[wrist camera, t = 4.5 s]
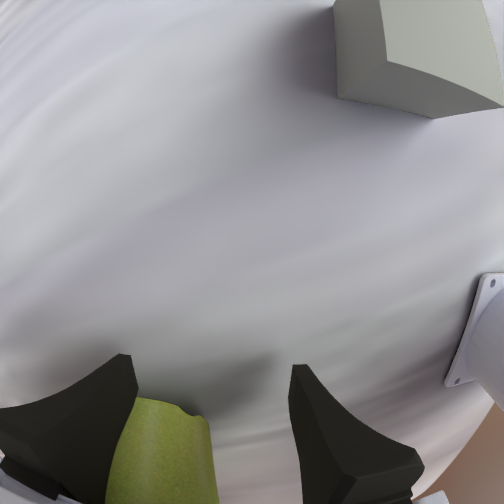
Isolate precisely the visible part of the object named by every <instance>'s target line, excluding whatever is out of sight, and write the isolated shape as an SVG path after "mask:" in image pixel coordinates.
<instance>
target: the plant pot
mask: <svg viewBox="0 0 504 504" xmlns="http://www.w3.org/2000/svg"><path fill="white" fill-rule="evenodd" d="M105 504H220V503H219V497H218V492H217V485H216V478H215V472H214V464H213V455H212V446H211V438H210V429H209V424H208V422H207V421H206V419H204V418H203V417H202V416H200V415H197V416H190V415H188V414H186V413H185V412H184V411H183V410H182V409H181V408H180V407H178V406H176V405H173V404H170V403H167V402H164V401H160V400H152V399H147V398H140V397H136V400H135V403H134V406H133V409H132V411H131V413H130V416H129V418H128V420H127V422H126V425H125V427H124V429H123V431H122V434H121V436H120V438H119V441H118V443H117V446H116V449H115V453H114V456H113V460H112V464H111V468H110V473H109V478H108V483H107V489H106V496H105Z"/></svg>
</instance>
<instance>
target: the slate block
mask: <svg viewBox="0 0 504 504" xmlns="http://www.w3.org/2000/svg"><path fill="white" fill-rule="evenodd" d="M333 18H334V31H335V47H336V71H337V98H338V99H344V100H351V101H357V102H363V103H368V104H373V105H378V106H383V107H388V108H392V109H397V110H401V111H405V112H409V113H413V114H417V115H421V116H424V117H428V118H432V119H437V118H442V117H447V116H453V115H458V114H464V113H470V112H476V111H482V110H489V109H496V108H504V91H503V84H502V78H501V72H500V67H499V61H498V57H497V52H496V48H495V43H494V39H493V36H492V32H491V28H490V25H489V22H488V18H487V15H486V12H485V9H484V6H483V3H482V0H336V1H335V3H334V4H333Z"/></svg>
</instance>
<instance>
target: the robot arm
mask: <svg viewBox="0 0 504 504" xmlns="http://www.w3.org/2000/svg"><path fill="white" fill-rule="evenodd" d="M474 380H477V381H478V382H479V384H480V385H481V386H482V387H483V388H484V389H485V390H486V392H487V393H488V394H489V395H490V396H491V397H492V399H493V400H494V401H495V402H496V403H497V405H498V406H499V407H500V408H501V409H502V411H503V412H504V273H486V274H484V275H483V276H482V277H481V279H480V281H479V285H478V289H477V293H476V296H475V300H474V303H473V307H472V310H471V313H470V317H469V320H468V323H467V326H466V329H465V332H464V334H463V337H462V340H461V343H460V345H459V348H458V351H457V353H456V356H455V358H454V361H453V363H452V365H451V368H450V370H449V372H448V375H447V377H446V379H445V382H444V385H445V386H446V387H447V388H451V387H454V386H458V385H461V384H464V383H468V382H471V381H474ZM138 389H139V388H138V384H137V380H136V376H135V372H134V368H133V363H132V359H131V355H124V354H118V355H116V356H115V357H113V358H112V359H110V360H109V361H108V362H106V363H105V364H103V365H102V366H101V367H99V368H98V369H96V370H95V371H94V372H92V373H91V374H89V375H88V376H86V377H85V378H83V379H82V380H80V381H78V382H77V383H75V384H74V385H72V386H70V387H68V388H67V389H65V390H63V391H61V392H59V393H57V394H54V395H52V396H49V397H47V398H44V399H41V400H39V401H36V402H32V403H29V404H25V405H20V406H15V407H8V408H0V449H1V451H2V452H3V453H4V455H5V457H4V458H3V459H2V458H1V457H0V504H105V496H106V489H107V483H108V478H109V473H110V468H111V464H112V460H113V456H114V453H115V449H116V446H117V443H118V441H119V438H120V436H121V434H122V431H123V429H124V427H125V425H126V422H127V420H128V418H129V416H130V413H131V411H132V409H133V406H134V403H135V400H136V396H137V392H138ZM288 402H289V413H290V420H291V424H292V429H293V433H294V438H295V442H296V447H297V451H298V456H299V461H300V470H301V481H302V494H303V504H449V502H448V500H447V497H446V495H445V493H444V491H438V492H436V493H434V494H431V495H429V496H426V497H424V498H421V499H419V500H417V501H415V502H413V503H412V501H411V499H410V498H411V497H412V496H413V493H412V491H411V487H412V486H413V485H414V484H415V483H416V481H417V480H418V479H419V478H420V477H421V475H422V474H423V472H424V468H425V467H424V465H423V463H422V460H421V458H420V456H419V455H418V453H417V451H416V450H415V448H412V447H409V446H406V445H404V444H401V443H399V442H396V441H394V440H392V439H390V438H388V437H385V436H383V435H382V434H380V433H378V432H376V431H375V430H373V429H371V428H370V427H368V426H367V425H365V424H364V423H362V422H361V421H359V420H358V419H357V418H355V417H354V416H353V415H352V414H350V413H349V412H348V411H347V410H346V409H345V408H344V407H343V406H342V405H341V404H340V403H339V402H338V401H337V400H336V399H335V398H334V397H333V396H332V395H331V394H330V393H329V392H328V390H327V389H326V388H325V387H324V386H323V385H322V383H321V382H320V381H319V380H318V378H317V377H316V376H315V374H314V373H313V372H312V370H311V369H310V367H309V366H308V365H307V364H301V365H293V367H292V374H291V381H290V388H289V395H288Z"/></svg>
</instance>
